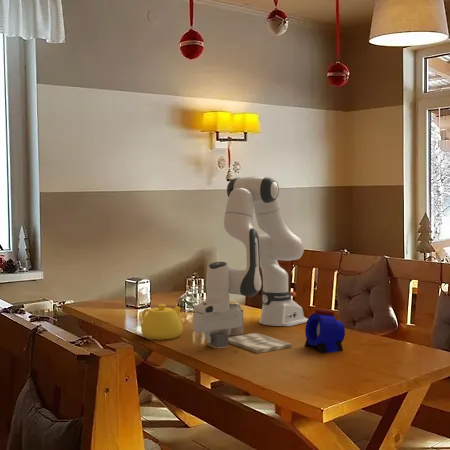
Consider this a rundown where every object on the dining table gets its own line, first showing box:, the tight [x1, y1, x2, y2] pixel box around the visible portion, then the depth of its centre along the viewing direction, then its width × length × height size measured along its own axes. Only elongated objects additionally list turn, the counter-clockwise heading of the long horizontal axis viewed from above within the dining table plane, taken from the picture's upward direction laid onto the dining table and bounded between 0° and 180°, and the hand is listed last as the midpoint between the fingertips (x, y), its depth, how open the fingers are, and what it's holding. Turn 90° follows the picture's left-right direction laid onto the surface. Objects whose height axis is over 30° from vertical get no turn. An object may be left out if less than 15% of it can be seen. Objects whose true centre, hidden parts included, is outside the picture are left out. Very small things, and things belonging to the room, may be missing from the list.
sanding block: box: [207, 331, 229, 349], centre depth 244 cm, size 5×7×5 cm
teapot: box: [140, 303, 183, 341], centre depth 263 cm, size 20×19×13 cm
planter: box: [217, 309, 245, 337], centre depth 264 cm, size 11×11×10 cm
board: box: [228, 332, 293, 354], centre depth 247 cm, size 16×22×1 cm
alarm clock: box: [304, 308, 346, 354], centre depth 241 cm, size 12×12×15 cm
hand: (217, 341), depth 244 cm, fingers open, 5 cm apart
